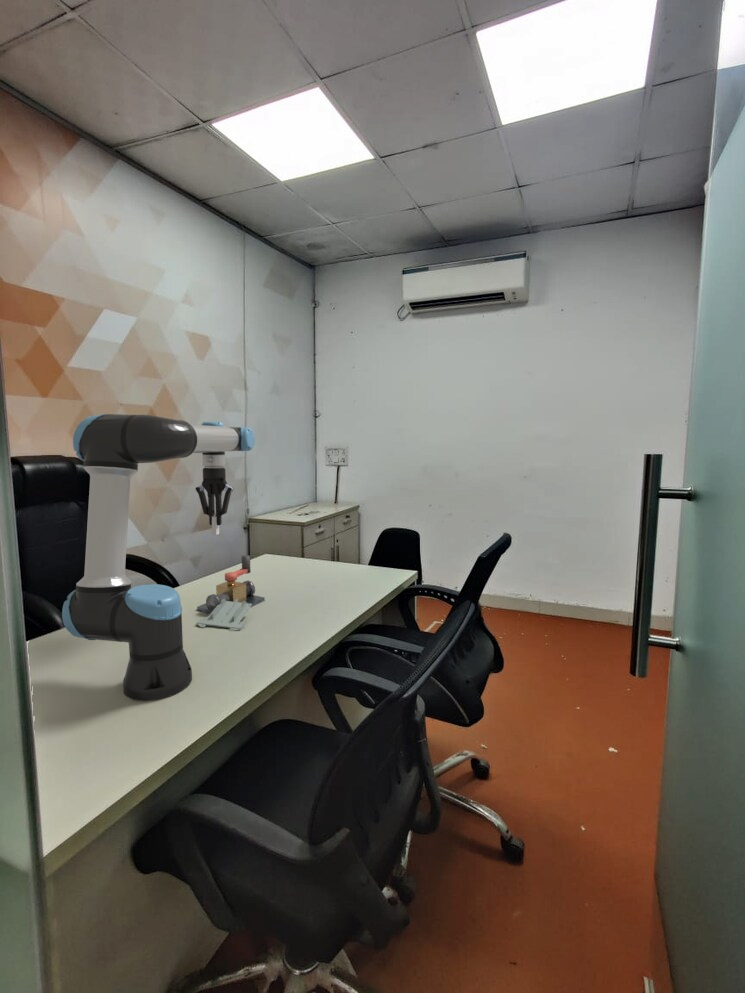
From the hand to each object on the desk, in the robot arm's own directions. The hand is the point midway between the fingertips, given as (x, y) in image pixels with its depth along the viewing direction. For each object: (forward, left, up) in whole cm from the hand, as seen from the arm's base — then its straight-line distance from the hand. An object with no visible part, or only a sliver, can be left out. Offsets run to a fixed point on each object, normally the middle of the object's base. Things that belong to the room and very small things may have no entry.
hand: (215, 534), depth 169 cm
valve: (-1, -8, -24) cm, 25 cm away
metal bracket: (-12, -16, -24) cm, 32 cm away
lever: (+3, -7, -15) cm, 17 cm away
